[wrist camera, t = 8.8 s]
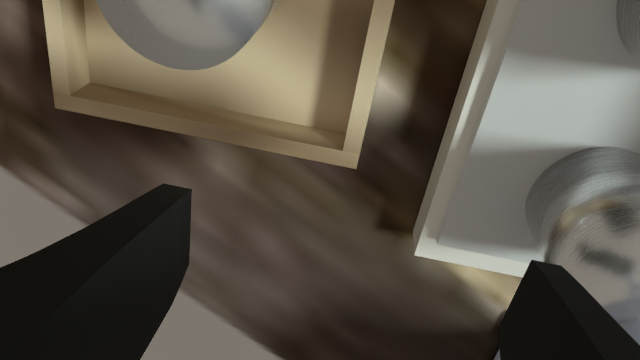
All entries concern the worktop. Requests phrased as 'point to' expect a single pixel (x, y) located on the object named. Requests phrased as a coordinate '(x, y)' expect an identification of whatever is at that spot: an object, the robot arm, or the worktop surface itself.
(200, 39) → the cylinder
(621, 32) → the spacer
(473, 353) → the worktop surface
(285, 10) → the tray
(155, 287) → the robot arm
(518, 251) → the scale
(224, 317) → the worktop surface
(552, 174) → the cylinder
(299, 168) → the worktop surface
